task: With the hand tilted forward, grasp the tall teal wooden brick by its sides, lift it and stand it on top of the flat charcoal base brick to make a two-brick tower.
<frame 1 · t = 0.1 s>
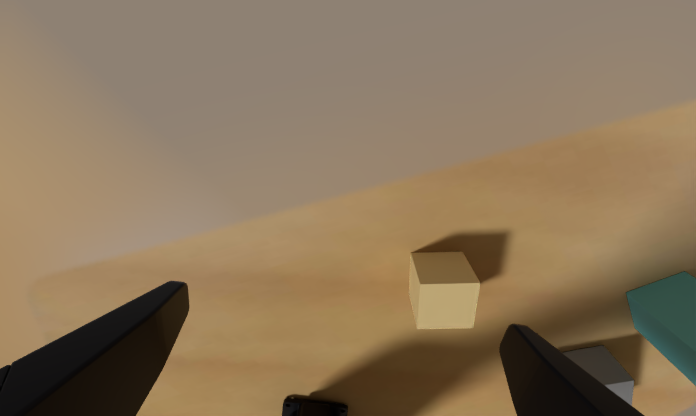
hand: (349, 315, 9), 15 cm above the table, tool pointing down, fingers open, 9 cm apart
teal brick: (658, 301, 27), on the table
base brick: (563, 378, 31), on the table
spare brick: (434, 272, 26), on the table
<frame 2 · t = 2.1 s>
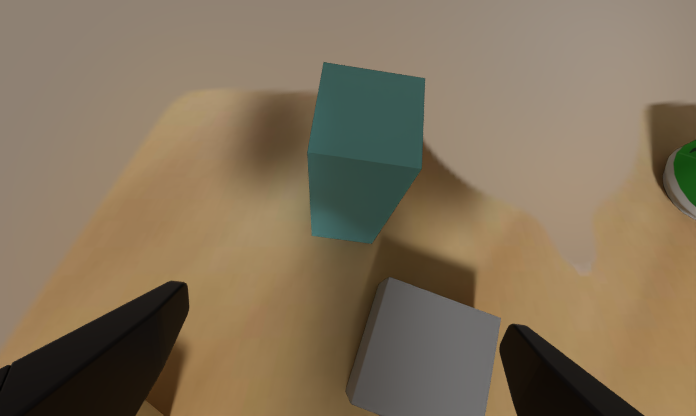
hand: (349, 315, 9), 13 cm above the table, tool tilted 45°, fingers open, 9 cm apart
soda can: (692, 191, 28), on the table
teal brick: (345, 211, 24), on the table
base brick: (413, 353, 21), on the table
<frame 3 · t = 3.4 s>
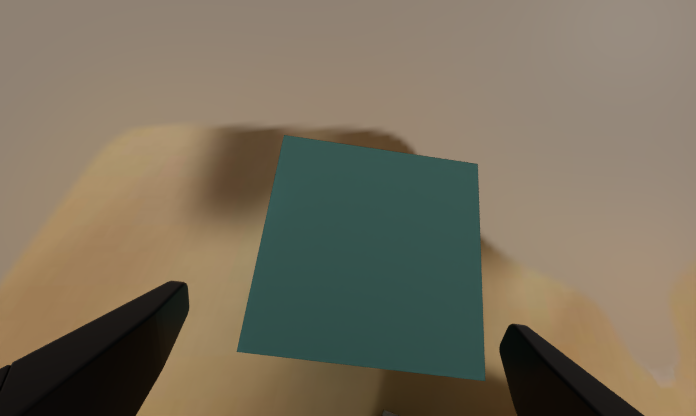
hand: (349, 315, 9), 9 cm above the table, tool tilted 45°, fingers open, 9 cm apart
teal brick: (337, 298, 18), on the table
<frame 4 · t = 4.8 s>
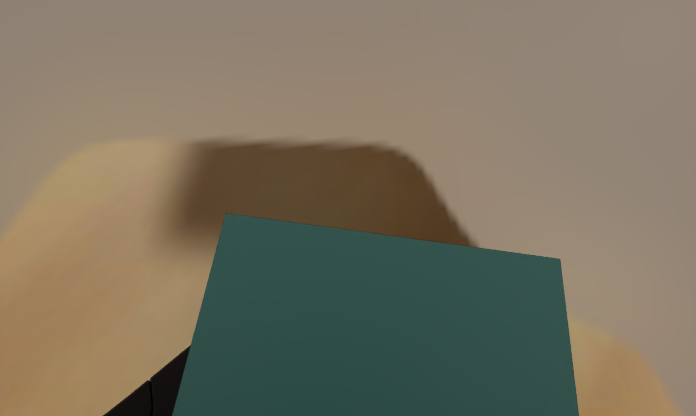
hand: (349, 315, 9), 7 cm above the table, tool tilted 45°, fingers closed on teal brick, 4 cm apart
teal brick: (332, 351, 15), on the table, touching gripper
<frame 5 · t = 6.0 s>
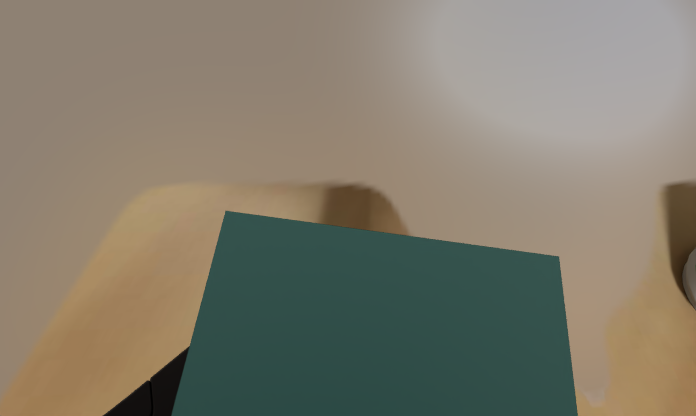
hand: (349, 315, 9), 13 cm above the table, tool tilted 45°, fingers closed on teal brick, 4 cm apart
teal brick: (332, 350, 15), point 7 cm above the table, touching gripper
when the fingers open (11 cm above the table, at t = 7.5 s): teal brick stays where it is, resting on base brick.
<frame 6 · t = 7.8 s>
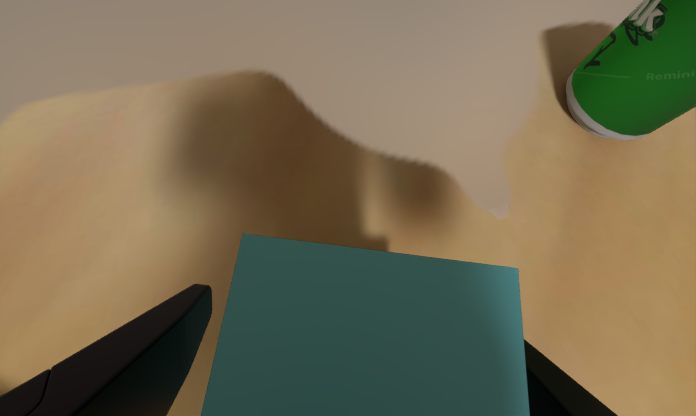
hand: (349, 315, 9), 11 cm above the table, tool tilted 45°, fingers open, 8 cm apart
soda can: (598, 109, 27), on the table
teal brick: (332, 349, 16), point 3 cm above the table, touching base brick
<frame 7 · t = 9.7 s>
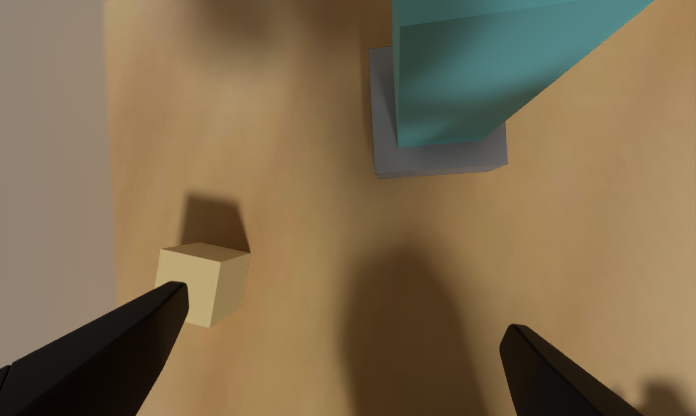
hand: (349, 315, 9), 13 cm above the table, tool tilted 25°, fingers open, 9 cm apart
teal brick: (436, 103, 18), point 3 cm above the table, touching base brick
base brick: (429, 121, 21), on the table
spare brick: (220, 274, 23), on the table
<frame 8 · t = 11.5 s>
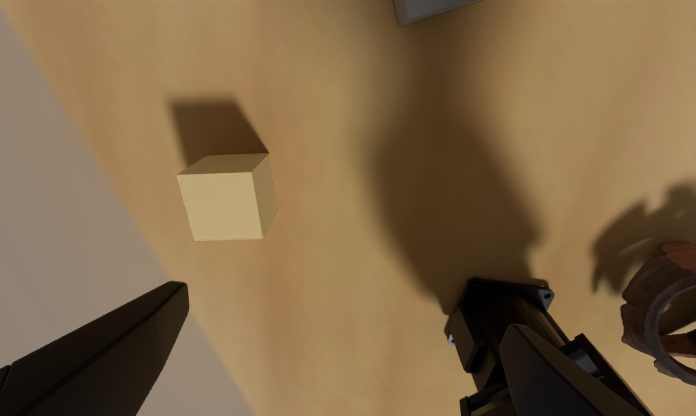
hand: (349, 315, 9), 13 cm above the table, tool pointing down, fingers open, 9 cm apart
brown curved ring: (676, 285, 24), on the table
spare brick: (244, 183, 21), on the table
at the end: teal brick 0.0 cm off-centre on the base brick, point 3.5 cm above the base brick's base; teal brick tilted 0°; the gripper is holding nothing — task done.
